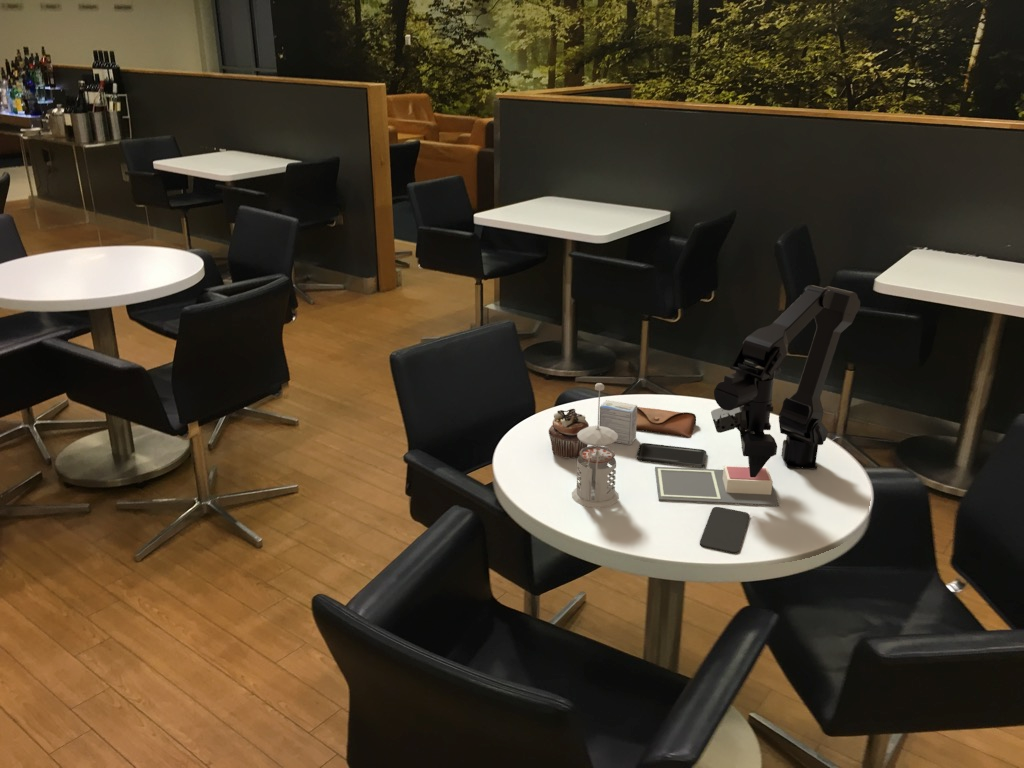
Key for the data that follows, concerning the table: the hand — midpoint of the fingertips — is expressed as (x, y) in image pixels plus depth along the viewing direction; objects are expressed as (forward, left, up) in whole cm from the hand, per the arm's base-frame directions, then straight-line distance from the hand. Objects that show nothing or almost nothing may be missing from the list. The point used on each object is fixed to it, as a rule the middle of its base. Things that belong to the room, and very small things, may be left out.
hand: (749, 466), depth 175 cm
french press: (+32, +7, -5) cm, 33 cm away
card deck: (0, 0, -5) cm, 5 cm away
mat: (+7, 0, -5) cm, 8 cm away
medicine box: (+27, -21, -5) cm, 34 cm away
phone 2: (+15, -13, -6) cm, 20 cm away
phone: (+7, +17, -6) cm, 19 cm away
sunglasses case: (+17, -29, -6) cm, 34 cm away
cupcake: (+38, -14, -5) cm, 40 cm away
